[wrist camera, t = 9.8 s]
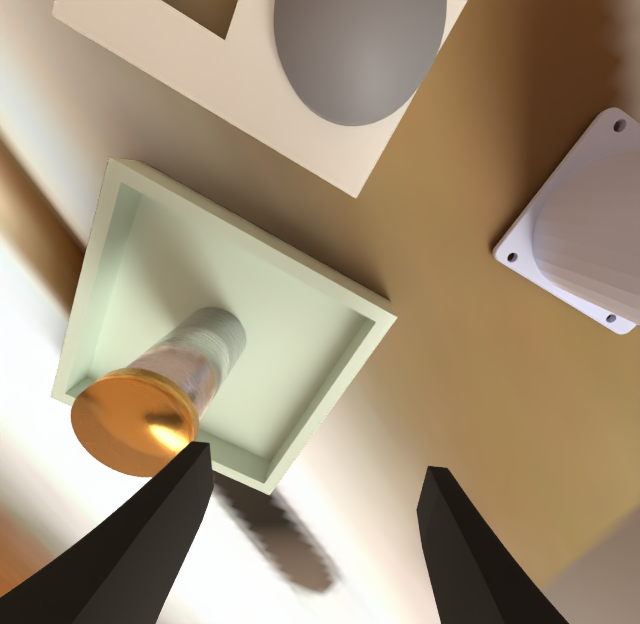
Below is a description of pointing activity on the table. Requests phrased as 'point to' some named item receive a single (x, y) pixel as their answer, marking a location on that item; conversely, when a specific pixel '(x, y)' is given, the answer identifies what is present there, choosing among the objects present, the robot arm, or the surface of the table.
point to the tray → (226, 293)
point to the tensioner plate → (287, 68)
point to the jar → (159, 395)
